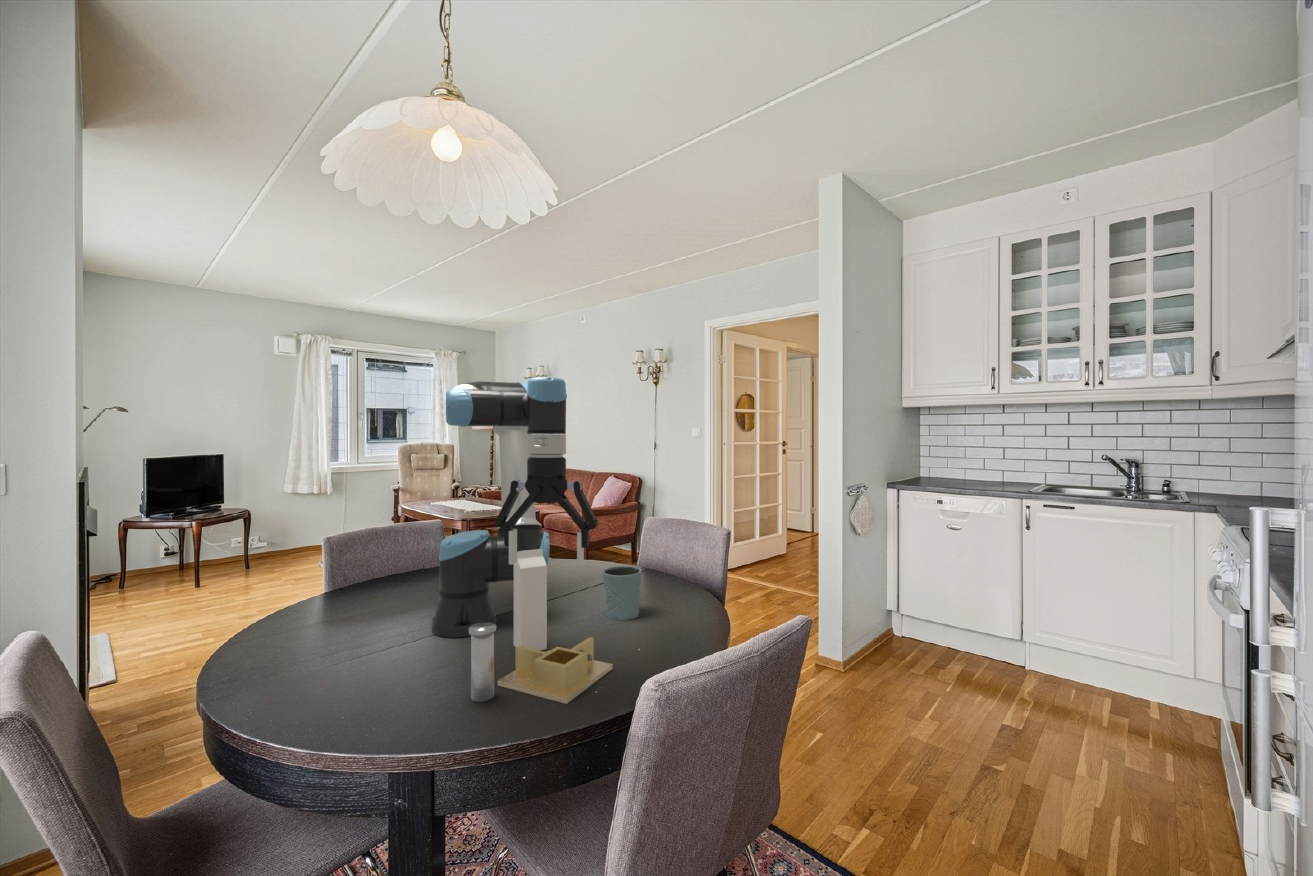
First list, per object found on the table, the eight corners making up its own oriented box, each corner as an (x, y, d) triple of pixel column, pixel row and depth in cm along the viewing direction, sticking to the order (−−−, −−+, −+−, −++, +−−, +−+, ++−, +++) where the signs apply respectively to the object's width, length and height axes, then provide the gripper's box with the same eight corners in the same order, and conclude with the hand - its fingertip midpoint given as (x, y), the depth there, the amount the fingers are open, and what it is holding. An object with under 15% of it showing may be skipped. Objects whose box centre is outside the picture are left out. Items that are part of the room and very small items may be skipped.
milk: (546, 649, 120) (547, 551, 120) (519, 655, 117) (520, 554, 117) (538, 640, 126) (539, 546, 125) (512, 645, 123) (513, 548, 122)
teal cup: (648, 613, 145) (648, 569, 145) (626, 624, 136) (626, 577, 136) (618, 606, 150) (618, 564, 150) (595, 617, 142) (595, 571, 142)
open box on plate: (566, 704, 96) (566, 670, 96) (497, 685, 103) (497, 654, 103) (612, 669, 110) (612, 639, 110) (549, 654, 117) (549, 627, 117)
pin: (463, 699, 98) (463, 629, 97) (482, 688, 102) (482, 620, 102) (483, 705, 95) (483, 633, 95) (501, 693, 100) (501, 624, 100)
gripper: (477, 456, 103) (477, 566, 103) (606, 457, 101) (605, 569, 102) (492, 455, 111) (492, 557, 111) (612, 455, 109) (612, 560, 109)
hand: (546, 563), depth 106 cm, fingers open, 13 cm apart
